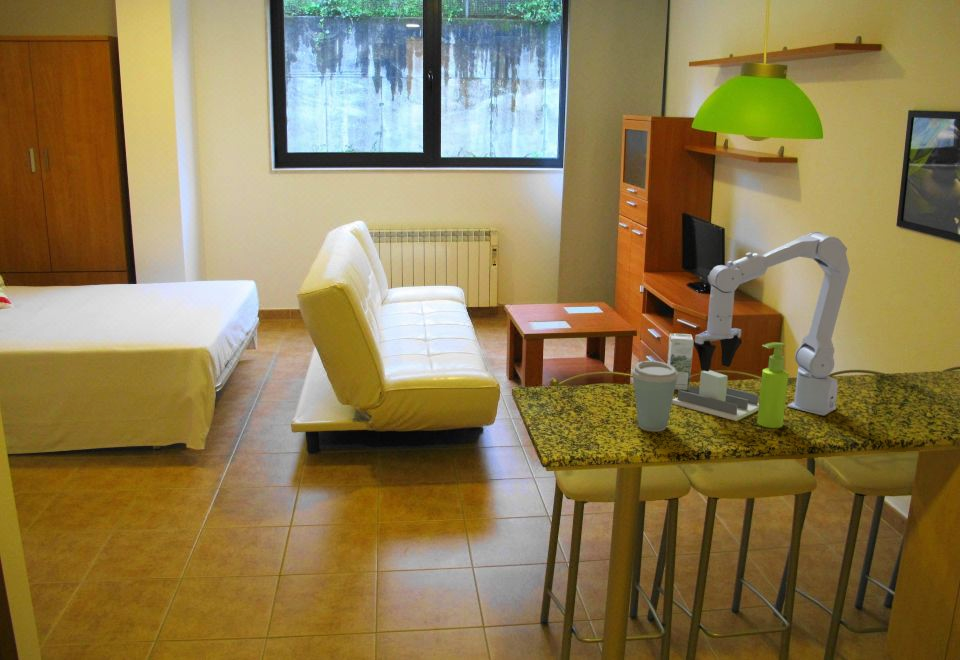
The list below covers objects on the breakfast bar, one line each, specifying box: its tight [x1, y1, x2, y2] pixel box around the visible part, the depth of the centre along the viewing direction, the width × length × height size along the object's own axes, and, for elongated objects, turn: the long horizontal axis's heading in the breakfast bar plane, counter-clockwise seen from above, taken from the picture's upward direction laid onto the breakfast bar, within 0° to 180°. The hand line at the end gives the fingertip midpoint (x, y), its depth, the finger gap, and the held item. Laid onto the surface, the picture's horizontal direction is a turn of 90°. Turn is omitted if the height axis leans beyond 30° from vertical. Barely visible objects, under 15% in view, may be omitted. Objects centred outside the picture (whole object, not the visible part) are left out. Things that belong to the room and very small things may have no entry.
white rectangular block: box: [699, 369, 729, 401], centre depth 224 cm, size 6×3×8 cm, turn 35°
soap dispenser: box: [756, 341, 790, 429], centre depth 212 cm, size 6×7×20 cm
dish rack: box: [671, 384, 760, 422], centre depth 227 cm, size 18×14×4 cm
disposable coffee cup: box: [631, 359, 678, 433], centre depth 209 cm, size 11×11×15 cm
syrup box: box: [666, 333, 695, 392], centre depth 239 cm, size 6×6×14 cm
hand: (715, 368), depth 223 cm, fingers open, 7 cm apart
